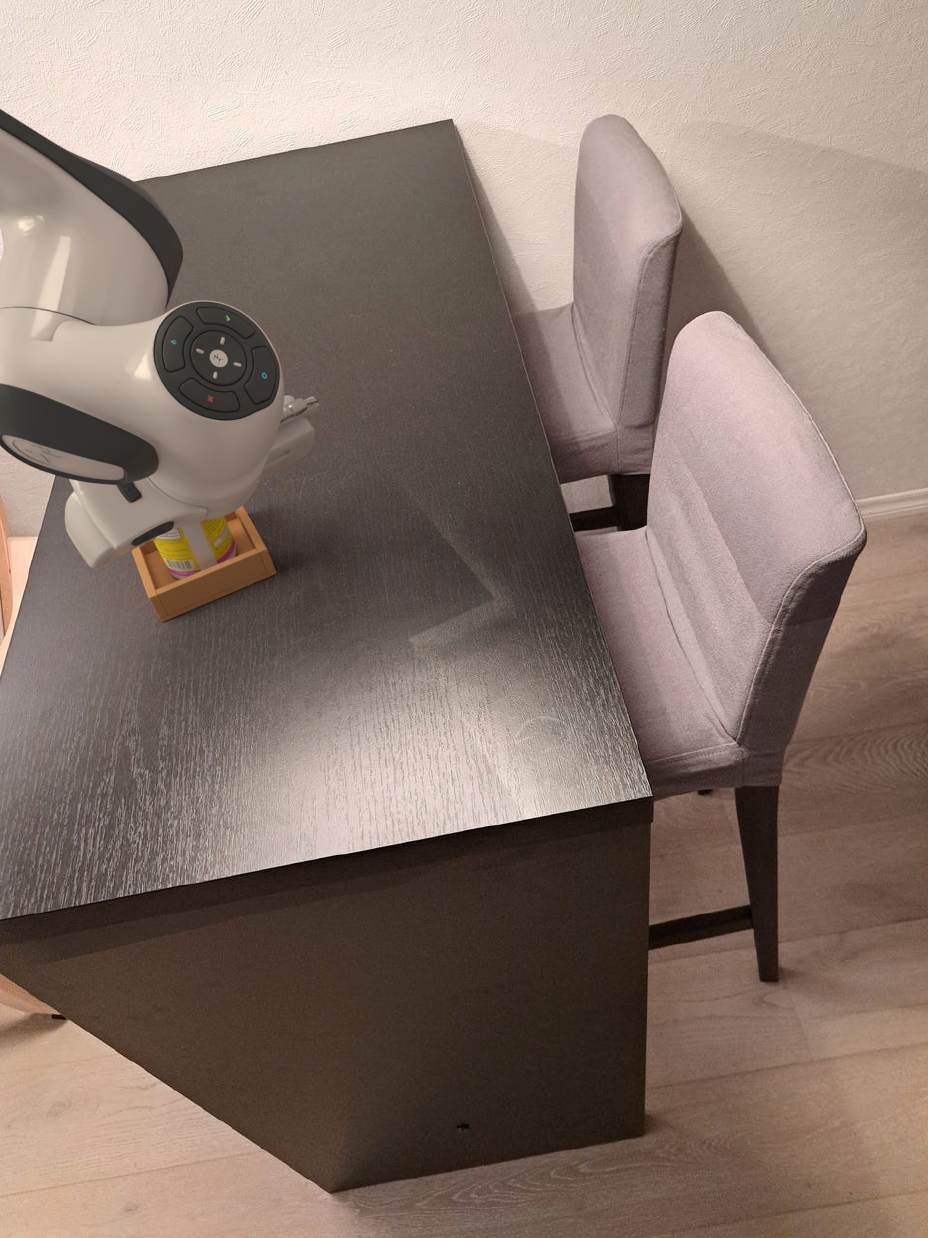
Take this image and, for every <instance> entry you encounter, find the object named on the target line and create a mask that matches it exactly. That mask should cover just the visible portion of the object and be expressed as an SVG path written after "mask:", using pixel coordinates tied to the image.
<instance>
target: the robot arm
mask: <svg viewBox="0 0 928 1238" xmlns="http://www.w3.org/2000/svg"><path fill="white" fill-rule="evenodd" d="M0 233H1V237H2V245H3V248H2V250H3V251H2V254H1V255H2V256H1V259H0V447H1V448H2V449H3V450H4V451H5V452H7V453H8V454H9V455H11V456H12V457H13V458H15V459H17V460H18V461H19V462H21V463H23V464H25V465H27V466H29V467H32V468H34V469H36V470H39V471H41V472H44V473H47V474H49V475H50V474H51V475H53V476H57V477H60V478H63V479H68V481H69V482H70V485H71V487H72V489H73V491H72V493H71V494H70V495H69V496H68V499H67V500H66V503H65V507H64V508H65V509H64V525H65V526H64V527H65V529H66V533H67V536H68V537H69V539H70V540H71V542H72V543H73V545H74V546H75V548H76V550H77V551H78V553H79V554H80V555H81V557H82V559H83V560H84V561H85V563H86V564H87V565H88V567H90V568H91V569H98V568H101V567H104V566H106V565H108V564H109V563H111V562H114V561H115V560H117V559H118V558H120V557H122V556H124V555H126V554H128V553H130V552H132V551H131V550H133V549H135V548H137V547H140V548H141V547H143V546H144V545H146V544H148V543H150V542H152V541H153V540H155V539H156V538H155V537H157V536H159V535H162V534H164V533H167V532H169V531H171V530H173V529H176V528H180V527H183V526H187V525H191V524H195V523H198V522H201V521H203V520H204V519H214V518H219V517H222V516H225V515H228V514H230V513H232V512H234V511H236V510H237V509H239V508H240V507H241V506H243V507H244V505H245V504H247V502H248V501H249V500H250V499H251V498H252V496H253V494H254V493H255V491H256V490H257V487H258V485H259V483H260V482H261V481H262V480H264V479H267V478H269V477H270V476H272V475H274V474H276V473H278V472H280V471H281V470H283V469H285V468H288V467H289V466H291V465H292V464H295V463H296V462H298V461H300V460H302V459H303V458H304V457H305V456H307V455H308V454H309V453H310V452H311V451H312V449H313V446H314V443H315V438H316V430H315V428H314V426H313V424H312V423H311V419H313V418H314V417H315V416H316V414H317V413H318V410H319V408H320V403H319V399H318V398H316V397H315V396H314V395H313V396H309V397H308V398H306V399H303V397H299V398H295V397H294V396H292V395H289V394H288V395H285V394H286V393H285V379H284V373H283V368H282V364H281V359H280V358H279V355H278V353H277V351H276V348H275V347H274V344H273V343H272V341H271V340H270V338H269V337H268V335H267V334H266V332H265V331H264V330H263V329H262V328H261V327H260V325H259V324H257V322H256V321H255V320H254V319H253V318H251V317H250V316H249V315H247V313H244V311H242V310H240V309H239V308H236V307H234V306H232V305H230V304H226V303H223V302H221V301H215V300H207V299H206V300H204V299H203V300H193V301H188V302H184V303H182V304H179V305H176V306H175V307H173V308H172V309H170V310H168V311H167V312H165V311H166V309H167V307H168V306H169V303H170V300H171V297H172V294H173V291H174V287H175V285H176V282H177V280H178V277H179V274H180V271H181V267H182V265H183V262H184V250H183V245H182V242H181V239H180V237H179V235H178V233H177V231H176V230H175V227H174V225H173V224H172V222H171V221H170V219H169V217H168V215H167V214H166V212H165V211H164V210H163V208H162V206H161V205H160V204H159V203H158V202H157V200H156V199H155V198H154V197H153V196H152V195H151V193H149V192H148V191H147V189H145V188H144V187H142V186H141V185H140V184H139V183H137V182H135V181H134V180H133V179H131V178H130V177H129V178H128V177H127V176H125V175H123V174H121V173H119V172H118V171H115V170H113V169H111V168H109V167H107V166H104V165H102V164H100V163H98V162H94V161H92V160H90V159H88V158H85V157H83V156H81V155H79V154H76V153H74V152H72V151H70V150H68V149H66V148H65V147H62V146H60V145H59V144H57V143H55V142H54V141H52V140H51V139H49V138H47V137H46V136H44V134H41V133H40V132H38V131H36V130H35V129H33V128H32V127H30V126H28V125H27V124H25V122H22V121H20V120H19V119H18V118H16V117H14V116H12V115H11V114H9V113H7V112H6V111H5V110H3V109H1V108H0Z"/></svg>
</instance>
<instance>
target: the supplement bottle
mask: <svg viewBox="0 0 928 1238" xmlns="http://www.w3.org/2000/svg"><path fill="white" fill-rule="evenodd" d="M155 538H156V539H155V540H153V541H154V543H155V545H156V547H157V549H158V551H159V553H160V554H161V556H162V558H163V560H164V562H165V564H166V566H167V568H168V570H169V571H170V573H171V574H172V575H173V576H174V577H176V578H177V579H179V580H181V579H183V578H186V577H188V576H191V575H193V574H196V573H198V572H200V571H203V570H205V569H208V568H210V567H212V566H215V565H217V564H220V563H222V562H224V561H227V560H229V559H232V558H234V557H235V555H236V550H237V548H236V543H235V541H234V538H233V536H232V533H231V531H230V529H229V527H228V524H227V522H226V520H225V517H224V516H222V517H219V518H214V519H204V520H203V521H201V522H198V523H195V524H191V525H187V526H183V527H180V528H176V529H173V530H171V531H169V532H167V533H164V534H162V535H159V536H157V537H155Z"/></svg>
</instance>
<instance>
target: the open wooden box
mask: <svg viewBox="0 0 928 1238" xmlns="http://www.w3.org/2000/svg"><path fill="white" fill-rule="evenodd" d="M224 517H225V520H226V522H227V524H228V527H229V529H230V531H231V533H232V536H233V538H234V541H235V543H236V548H237V550H236V555H235V557H234V558H232V559H229V560H227V561H224V562H222V563H220V564H217V565H215V566H212V567H210V568H208V569H205V570H203V571H200V572H198V573H196V574H193V575H191V576H188V577H186V578H183V579H181V580H179V579H177V578H176V577H174V576H173V575H172V574H171V573H170V571H169V570H168V568H167V566H166V564H165V562H164V560H163V558H162V556H161V554H160V553H159V551H158V549H157V547H156V545H155V543H154V541H152V542H150V543H148V544H146V545H144V546H143V547H141V548H140V547H137V548H135V549H133V550H131V551H130V552H131V554H132V556H133V559H134V562H135V565H136V567H137V570H138V573H139V576H140V578H141V581H142V585H143V587H144V589H145V592H146V595H147V597H148V601H149V602H150V604H151V606H152V607H153V609H154V612H155V613H156V615H157V617H158V619H159V621H160V622H161V623H164V622H166V621H168V620H171V619H173V618H176V617H178V616H180V615H183V614H185V613H187V612H190V611H193V610H195V609H197V608H200V607H201V606H204V605H206V604H209V603H211V602H213V601H215V600H219V599H220V598H223V597H225V596H228V595H230V594H232V593H234V592H237V591H239V590H241V589H244V588H246V587H249V586H251V585H253V584H255V583H258V582H260V581H263V580H265V579H268V578H270V577H273V576H274V575H277V569H276V568H275V566H274V563H273V560H272V558H271V555H270V553H269V550H268V548H267V546H266V544H265V543H264V541H263V539H262V537H261V536H260V534H259V531H258V530H257V528H256V527H255V524H254V523H253V521H252V519H251V517H250V516H249V514H248V512H247V511H246V509H245V507H244V505H243V506H241V507H240V508H239V509H237V510H236V511H234V512H232V513H230V514H228V515H225V516H224Z"/></svg>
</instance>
